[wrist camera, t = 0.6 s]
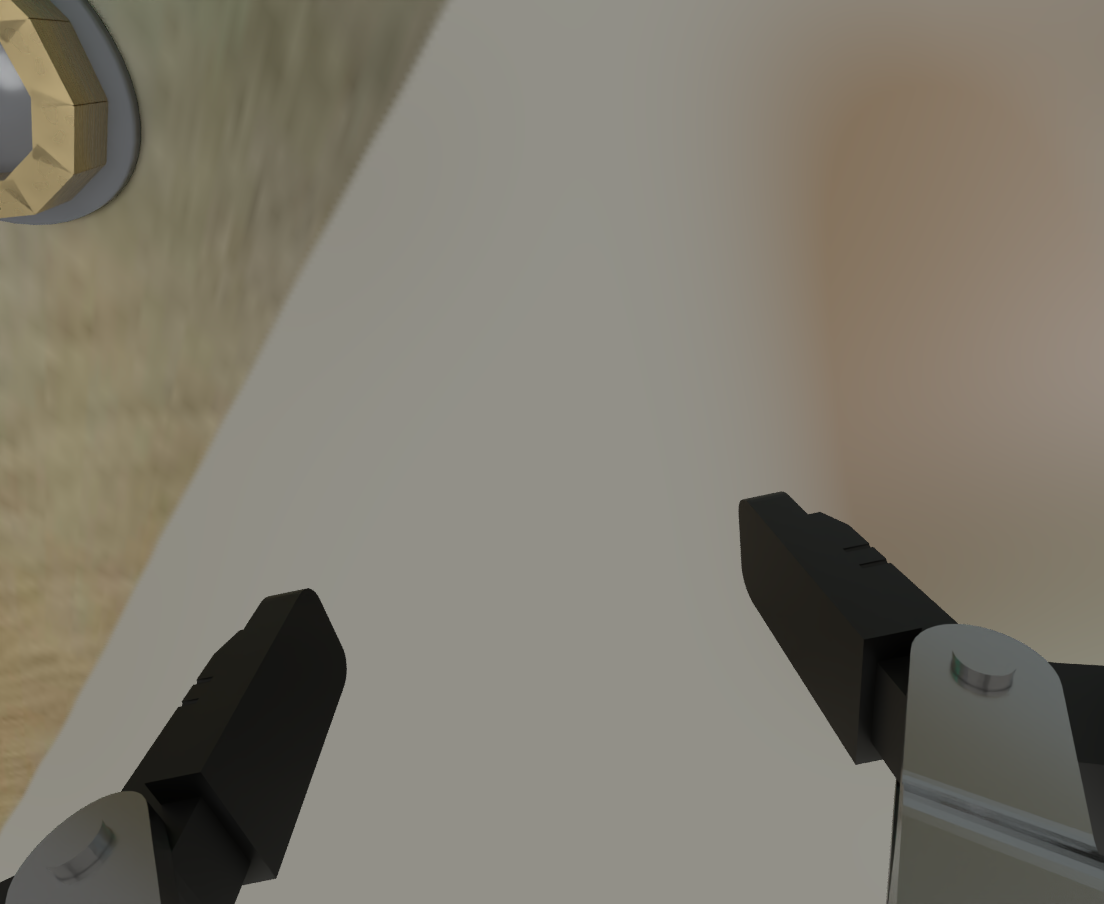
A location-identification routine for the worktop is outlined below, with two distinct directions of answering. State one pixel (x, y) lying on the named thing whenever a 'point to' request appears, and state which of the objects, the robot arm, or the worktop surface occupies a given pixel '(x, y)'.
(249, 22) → the worktop surface
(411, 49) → the worktop surface
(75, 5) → the dish
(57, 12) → the collar
